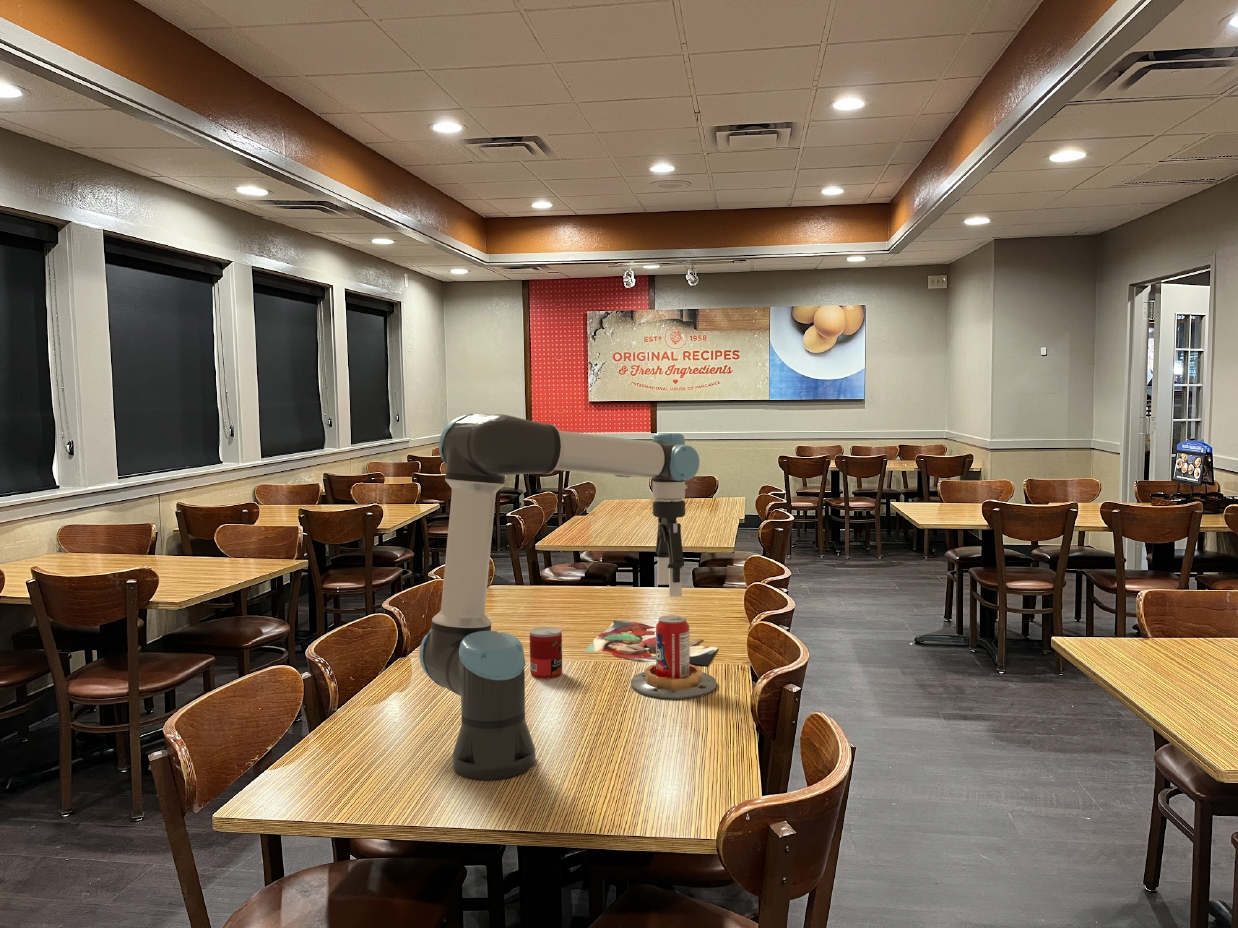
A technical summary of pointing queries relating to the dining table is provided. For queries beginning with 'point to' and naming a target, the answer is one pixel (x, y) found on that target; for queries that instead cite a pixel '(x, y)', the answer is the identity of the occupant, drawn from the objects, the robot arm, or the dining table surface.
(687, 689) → the bolted flange plate
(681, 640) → the soda can
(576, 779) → the dining table surface
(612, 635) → the colorful printed placemat
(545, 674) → the canned food
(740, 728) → the dining table surface
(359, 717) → the dining table surface
